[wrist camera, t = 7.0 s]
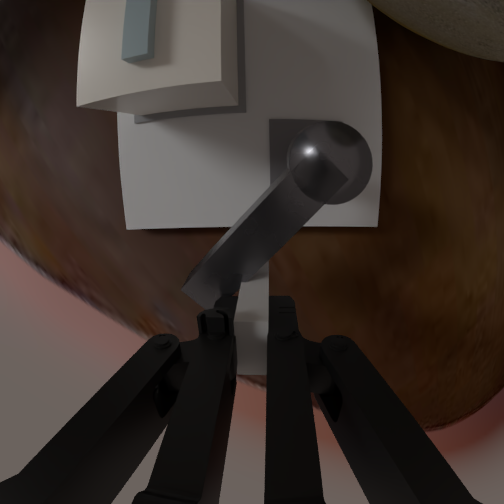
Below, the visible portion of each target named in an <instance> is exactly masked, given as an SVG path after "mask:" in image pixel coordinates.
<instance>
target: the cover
mask: <svg viewBox="0 0 504 504" xmlns="http://www.w3.org/2000/svg"><path fill="white" fill-rule="evenodd" d="M221 106H238V63H237V4H236V0H86V3H85V9H84V15H83V22H82V29H81V37H80V47H79V58H78V74H77V107H84V108H93V109H101V110H108V111H115V112H121V113H128V114H134V115H140V116H141V115H147V114H154V113H161V112H169V111H177V110H186V109H196V108H207V107H221Z"/></svg>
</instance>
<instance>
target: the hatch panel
mask: <svg viewBox="0 0 504 504" xmlns="http://www.w3.org/2000/svg"><path fill="white" fill-rule="evenodd" d="M236 4H237V63H238V106H221V107H207V108H196V109H186V110H177V111H169V112H161V113H154V114H147V115H141V116H140V115H134V114H128V113H121V112H117V118H118V144H119V160H120V173H121V184H122V194H123V203H124V212H125V220H126V227H127V230H129V229H157V228H194V227H232V226H233V225H234V224H235V223H236V222H237V221H238V219H239V218H240V217H241V216H242V215H243V214H244V213H245V212H246V211H247V210H248V209H249V208H250V207H251V206H252V204H253V203H254V202H255V201H256V200H257V199H258V198H259V197H260V196H261V195H262V194H263V193H264V192H265V191H266V190H267V189H268V188H269V186H270V185H271V184H272V183H273V182H274V181H275V180H276V179H277V178H278V177H279V176H280V175H281V174H282V173H283V172H284V171H285V170H286V169H287V168H288V167H287V151H288V148H289V145H290V143H291V141H292V139H293V138H294V137H295V136H296V134H297V133H299V132H300V131H301V130H303V129H304V128H306V127H308V126H311V125H313V124H315V123H319V122H323V121H338V122H342V123H345V124H347V125H349V126H351V127H353V128H354V129H356V130H357V131H358V132H359V133H360V134H361V135H362V136H363V137H364V139H365V140H366V142H367V143H368V146H369V148H370V151H371V154H372V161H373V167H372V174H371V177H370V180H369V182H368V184H367V186H366V187H365V189H364V190H363V191H362V192H361V193H360V194H359V195H358V196H357V197H355V198H354V199H352V200H350V201H348V202H346V203H343V204H338V205H327V204H324V205H323V206H322V207H321V208H320V209H319V210H318V212H317V213H316V214H315V215H314V216H313V217H312V218H311V219H310V220H309V221H308V222H307V223H306V224H305V225H304V226H350V227H377V225H378V214H379V201H380V185H381V162H382V107H381V85H380V70H379V58H378V48H377V39H376V31H375V23H374V16H373V10H372V4H370V3H369V2H368V1H367V0H236Z"/></svg>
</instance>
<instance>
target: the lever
mask: <svg viewBox="0 0 504 504" xmlns="http://www.w3.org/2000/svg"><path fill="white" fill-rule="evenodd" d="M287 167H288V168H287V169H286V170H285V171H284V172H283V173H282V174H281V175H280V176H279V177H278V178H277V179H276V180H275V181H274V182H273V183H272V184H271V185H270V186H269V188H268V189H267V190H266V191H265V192H264V193H263V194H262V195H261V196H260V197H259V198H258V199H257V200H256V201H255V202H254V203H253V204H252V206H251V207H250V208H249V209H248V210H247V211H246V212H245V213H244V214H243V215H242V216H241V217H240V218H239V219H238V221H237V222H236V223H235V224H234V225H233V226H232V227H231V228H230V229H229V230H228V231H227V232H226V234H225V235H224V236H223V237H222V238H221V239H220V240H219V241H218V242H217V243H216V244H215V246H214V247H213V248H212V249H211V250H210V251H209V252H208V253H207V254H206V255H205V257H204V258H203V259H202V260H201V261H200V262H199V263H198V264H197V265H196V267H195V268H194V269H193V270H192V271H191V272H190V274H189V276H188V277H187V279H186V281H185V283H184V285H183V287H182V288H181V290H182V291H183V292H184V293H185V294H187V295H188V296H189V297H190V298H192V299H193V300H194V301H195V302H197V303H198V304H199V305H201V306H202V307H203V308H204V309H206V310H208V309H213V307H214V304H215V301H216V300H218V299H219V298H220V297H221V296H232V295H233V294H234V293H235V292H237V291H238V290H239V289H240V286H241V282H247V281H248V280H249V279H250V278H251V277H252V276H253V275H254V274H255V273H256V272H257V271H258V270H259V269H260V268H261V267H262V266H263V265H264V264H265V263H266V262H267V261H268V260H269V259H270V258H271V257H272V256H273V255H274V254H275V253H276V252H277V251H278V250H279V249H280V248H281V247H282V246H283V245H284V244H285V243H286V242H287V241H288V240H289V239H290V238H291V237H292V236H293V235H295V234H296V233H297V232H298V231H299V230H300V229H301V228H302V227H303V226H304V225H305V224H306V223H307V222H308V221H309V220H310V219H311V218H312V217H313V216H314V215H315V214H316V213H317V212H318V210H319V209H320V208H321V207H322V206H323V205H324V204H327V205H338V204H343V203H346V202H348V201H350V200H352V199H354V198H355V197H357V196H358V195H359V194H360V193H361V192H362V191H363V190H364V189H365V187H366V186H367V184H368V182H369V180H370V177H371V174H372V167H373V161H372V154H371V151H370V148H369V146H368V143H367V142H366V140H365V139H364V137H363V136H362V135H361V134H360V133H359V132H358V131H357V130H356V129H354V128H353V127H351V126H349V125H347V124H345V123H342V122H338V121H323V122H319V123H315V124H313V125H311V126H308V127H306V128H304V129H303V130H301V131H300V132H299V133H297V134H296V136H295V137H294V138H293V139H292V141H291V143H290V145H289V148H288V151H287Z"/></svg>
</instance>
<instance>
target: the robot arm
mask: <svg viewBox="0 0 504 504" xmlns="http://www.w3.org/2000/svg"><path fill="white" fill-rule="evenodd" d="M197 321H198V328H199V337H198V338H197V339H195V340H191V341H186V342H179V339H178V338H177V337H176V336H174V335H172V334H158V335H156V336H153V337H152V338H150V339H149V340H148V341H147V342H146V343H145V344H144V345H143V346H142V347H141V348H140V349H139V350H138V351H137V352H136V353H135V354H134V355H133V356H132V357H131V358H130V359H129V360H128V361H127V362H126V363H125V364H124V365H123V366H122V367H121V368H120V369H119V370H118V371H117V372H116V373H115V374H114V375H113V376H112V377H111V378H110V379H109V380H108V382H106V383H105V384H104V385H103V386H102V387H101V389H100V390H99V391H98V392H97V393H96V394H95V395H94V396H93V397H92V398H91V399H90V400H89V401H88V402H87V403H86V404H85V405H84V406H83V407H82V408H81V409H80V410H79V411H78V412H77V413H76V414H75V415H74V416H73V417H72V418H71V419H70V420H69V421H68V422H67V423H66V425H65V426H64V427H63V428H62V429H61V430H60V431H59V432H58V433H57V434H56V435H55V436H54V437H53V438H52V439H51V440H50V441H49V442H48V443H47V444H46V445H45V446H44V447H43V448H42V449H41V450H40V452H39V453H38V454H37V455H36V456H35V457H34V458H33V459H32V460H31V461H30V462H29V463H28V464H27V465H26V466H25V467H24V469H22V471H21V472H20V473H19V474H17V475H15V476H13V477H11V478H9V479H6V480H4V481H2V482H0V504H111V503H112V502H113V500H114V499H115V498H116V496H117V495H118V493H119V492H120V491H121V489H122V488H123V487H124V485H125V484H126V482H127V481H128V480H129V478H130V477H131V475H132V474H133V473H134V471H135V470H136V469H137V467H138V466H139V464H140V463H141V462H142V460H143V459H144V457H145V456H146V454H147V453H148V451H149V450H150V449H151V447H152V446H153V444H154V443H155V442H156V440H157V439H158V437H159V436H160V434H161V433H162V432H163V430H164V429H165V427H166V426H167V428H166V431H165V435H164V438H163V440H162V443H161V447H160V450H159V452H158V455H157V459H156V462H155V465H154V468H153V471H152V474H151V477H150V480H149V483H148V486H147V488H146V489H145V490H144V491H141V492H138V493H137V495H136V496H135V497H134V500H133V502H132V504H219V497H220V491H221V484H222V477H223V471H224V464H225V457H226V451H227V444H228V438H229V431H230V424H231V418H232V410H233V404H234V397H235V390H236V384H237V382H236V371H237V374H244V375H267V391H266V402H267V403H266V453H265V493H264V504H326V503H325V501H324V497H323V488H322V479H321V471H320V462H319V453H318V445H317V437H316V429H315V422H314V415H313V407H312V400H311V393H310V392H313V393H314V396H315V399H316V400H317V402H318V404H319V406H320V408H321V410H322V412H323V414H324V416H325V418H326V420H327V422H328V424H329V426H330V428H331V430H332V432H333V434H334V436H335V438H336V440H337V441H338V443H339V446H340V447H341V449H342V451H343V453H344V455H345V457H346V459H347V461H348V463H349V465H350V467H351V469H352V471H353V473H354V475H355V477H356V478H357V480H358V482H359V484H360V486H361V488H362V490H363V492H364V494H365V496H366V497H367V500H368V501H369V503H370V504H482V503H480V502H479V501H477V500H475V499H474V498H473V497H472V496H471V494H470V493H469V492H468V490H467V489H466V487H465V486H464V485H463V483H462V482H461V480H460V479H459V478H458V476H457V475H456V474H455V472H454V471H453V469H452V468H451V467H450V465H449V464H448V463H447V461H446V460H445V459H444V457H443V456H442V455H441V453H440V452H439V451H438V449H437V448H436V447H435V445H434V444H433V443H432V441H431V440H430V439H429V438H428V436H427V435H426V433H425V432H424V431H423V429H422V428H421V427H420V425H419V424H418V423H417V421H416V420H415V419H414V417H413V416H412V415H411V414H410V412H409V411H408V410H407V408H406V407H405V406H404V404H403V403H402V402H401V401H400V399H399V398H398V397H397V395H396V394H395V393H394V392H393V390H392V389H391V388H390V386H389V385H388V384H387V383H386V381H385V380H384V379H383V378H382V376H381V375H380V374H379V372H378V371H377V370H376V369H375V367H374V366H373V365H372V364H371V362H370V361H369V360H368V359H367V357H366V356H365V355H364V354H363V352H362V351H361V350H360V349H359V347H358V346H357V345H356V344H355V342H354V341H353V340H351V339H350V338H348V337H346V336H342V335H331V336H328V337H326V338H325V339H323V340H322V343H317V342H312V341H309V340H307V339H305V338H303V337H302V335H301V333H300V332H299V330H298V323H297V316H296V309H295V302H294V300H293V299H292V298H291V297H290V296H269V260H268V261H267V262H266V263H265V264H264V265H263V266H262V267H261V268H260V269H259V270H258V271H257V272H256V273H255V274H254V275H253V276H252V277H251V278H250V279H249V280H248V281H247V282H241V286H240V291H239V296H221V297H220V298H219V299H218V300H216V301H215V304H214V307H213V309H208V310H204V311H202V312H201V313H199V315H198V316H197ZM167 424H168V425H167Z"/></svg>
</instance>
